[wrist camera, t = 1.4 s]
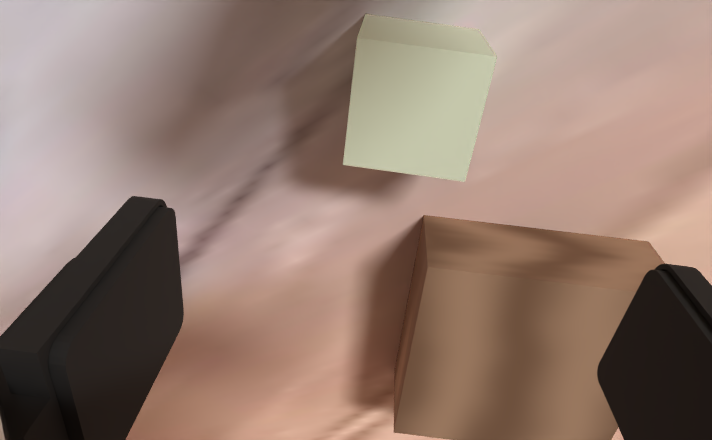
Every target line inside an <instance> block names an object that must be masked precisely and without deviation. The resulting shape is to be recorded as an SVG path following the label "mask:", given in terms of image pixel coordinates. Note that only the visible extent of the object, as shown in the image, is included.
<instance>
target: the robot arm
mask: <svg viewBox="0 0 712 440" xmlns="http://www.w3.org/2000/svg"><path fill="white" fill-rule="evenodd" d="M183 315H184V312H183V299H182V287H181V275H180V264H179V252H178V240H177V228H176V216H175V212H174V210H173V209H172V208H167V206H166V203H165V201H163V200H161V199H153V198H145V197H137V196H132V197H131V198H129V199H128V200H127V202H126V203H125V204H124V205H123V206H122V207H121V208H120V209H119V210H118V211H117V213H116V214H115V215H114V216H113V217H112V218H111V219H110V220H109V221H108V223H107V224H106V225H105V226H104V227H103V228H102V229H101V230H100V231H99V232H98V234H97V235H96V236H95V237H94V238H93V239H92V240H91V241H90V242H89V243H88V245H87V246H86V247H85V248H84V249H83V250H82V251H81V252H80V253H79V255H78V256H77V257H76V258H73V259H72V260H71V261H70V262H68V263H67V264H66V265H65V266H64V267H63V269H62V270H61V271H60V272H59V273H58V274H57V275H56V276H55V277H54V278H53V280H52V281H51V282H50V283H49V284H48V285H47V286H46V287H45V288H44V289H43V290H42V292H41V293H40V294H39V295H38V296H37V297H36V298H35V299H34V300H33V301H32V302H31V304H30V305H29V306H28V307H27V308H26V309H25V310H24V311H23V312H22V313H21V314H20V316H19V317H18V318H17V319H16V320H15V321H14V322H13V323H12V324H11V325H10V327H9V328H8V329H7V330H6V331H5V332H4V333H3V334H2V335H1V336H0V440H125V439H126V437H127V435H128V433H129V431H130V429H131V427H132V425H133V423H134V421H135V419H136V417H137V415H138V413H139V411H140V409H141V407H142V405H143V403H144V401H145V399H146V397H147V395H148V393H149V391H150V389H151V387H152V385H153V383H154V381H155V379H156V377H157V375H158V373H159V371H160V369H161V367H162V365H163V363H164V361H165V359H166V357H167V355H168V353H169V351H170V349H171V347H172V345H173V343H174V341H175V339H176V337H177V335H178V333H179V331H180V329H181V326H182V322H183ZM597 377H598V381H599V384H600V386H601V389H602V391H603V393H604V395H605V398H606V400H607V402H608V404H609V407H610V409H611V411H612V413H613V416H614V418H615V420H616V422H617V425H618V427H619V429H620V431H621V434H622V436H623V438H624V440H712V286H711V284H710V283H709V282H708V281H707V280H706V279H705V277H704V276H703V275H702V274H701V273H700V272H699V271H698V270H697V269H696V268H693V267H687V266H679V265H671V264H660V265H659V266H657V267H656V268H655V270H650V271H648V272H647V273H646V275H645V276H644V278H643V280H642V282H641V284H640V286H639V288H638V290H637V291H636V293H635V295H634V297H633V299H632V301H631V303H630V305H629V307H628V309H627V311H626V313H625V314H624V316H623V318H622V320H621V322H620V324H619V326H618V328H617V330H616V332H615V334H614V336H613V337H612V339H611V341H610V343H609V345H608V347H607V349H606V351H605V353H604V355H603V357H602V358H601V360H600V362H599V365H598V369H597Z"/></svg>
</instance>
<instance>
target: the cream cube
mask: <svg viewBox="0 0 712 440" xmlns="http://www.w3.org/2000/svg"><path fill="white" fill-rule="evenodd" d="M496 59H497V56H496V54H495V53H494V51H493V50H492V48H491V47H490V45H489V44H488V42H487V41H486V39H485V38H484V36H483V35H482V33H481V32H480V30H479V29H473V28H465V27H458V26H451V25H443V24H436V23H429V22H421V21H414V20H407V19H399V18H392V17H385V16H377V15H370V14H365V17H364V20H363V22H362V25H361V28H360V31H359V33H358V36H357V42H356V51H355V60H354V69H353V78H352V87H351V96H350V105H349V114H348V123H347V132H346V141H345V150H344V159H343V165H347V166H354V167H362V168H369V169H376V170H383V171H391V172H398V173H405V174H412V175H419V176H427V177H434V178H441V179H448V180H456V181H463V182H465V180H466V176H467V172H468V168H469V165H470V161H471V157H472V153H473V149H474V145H475V141H476V137H477V133H478V129H479V125H480V122H481V118H482V114H483V110H484V106H485V102H486V98H487V94H488V90H489V86H490V83H491V79H492V75H493V71H494V67H495V63H496Z"/></svg>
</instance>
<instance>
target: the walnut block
mask: <svg viewBox="0 0 712 440" xmlns="http://www.w3.org/2000/svg"><path fill="white" fill-rule="evenodd" d="M660 264H665V263H664V262H663V260H662V259H661V258H660V256H659V255H658V254H657V252H656V251H655V250H654V248H653V247H652V246H651V244H650V243H649V242H647V241H638V240H630V239H621V238H613V237H604V236H596V235H587V234H579V233H570V232H562V231H553V230H545V229H536V228H528V227H520V226H511V225H503V224H494V223H486V222H477V221H469V220H460V219H452V218H443V217H435V216H426V215H424V217H423V222H422V228H421V233H420V238H419V244H418V249H417V254H416V259H415V265H414V270H413V275H412V281H411V286H410V291H409V297H408V302H407V307H406V312H405V318H404V323H403V328H402V334H401V339H400V344H399V350H398V355H397V360H396V366H395V377H394V432H395V433H403V434H411V435H419V436H427V437H435V438H443V439H451V440H611V439H612V437H613V436H614V434H615V432H616V430H617V428H618V425H617V422H616V420H615V418H614V416H613V413H612V411H611V409H610V407H609V404H608V402H607V400H606V398H605V395H604V393H603V391H602V389H601V386H600V384H599V381H598V377H597V369H598V365H599V362H600V360H601V358H602V357H603V355H604V353H605V351H606V349H607V347H608V345H609V343H610V341H611V339H612V337H613V336H614V334H615V332H616V330H617V328H618V326H619V324H620V322H621V320H622V318H623V316H624V314H625V313H626V311H627V309H628V307H629V305H630V303H631V301H632V299H633V297H634V295H635V293H636V291H637V290H638V288H639V286H640V284H641V282H642V280H643V278H644V276H645V275H646V273H647V272H648V271H650V270H655V268H656V267H657V266H659V265H660Z"/></svg>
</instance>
